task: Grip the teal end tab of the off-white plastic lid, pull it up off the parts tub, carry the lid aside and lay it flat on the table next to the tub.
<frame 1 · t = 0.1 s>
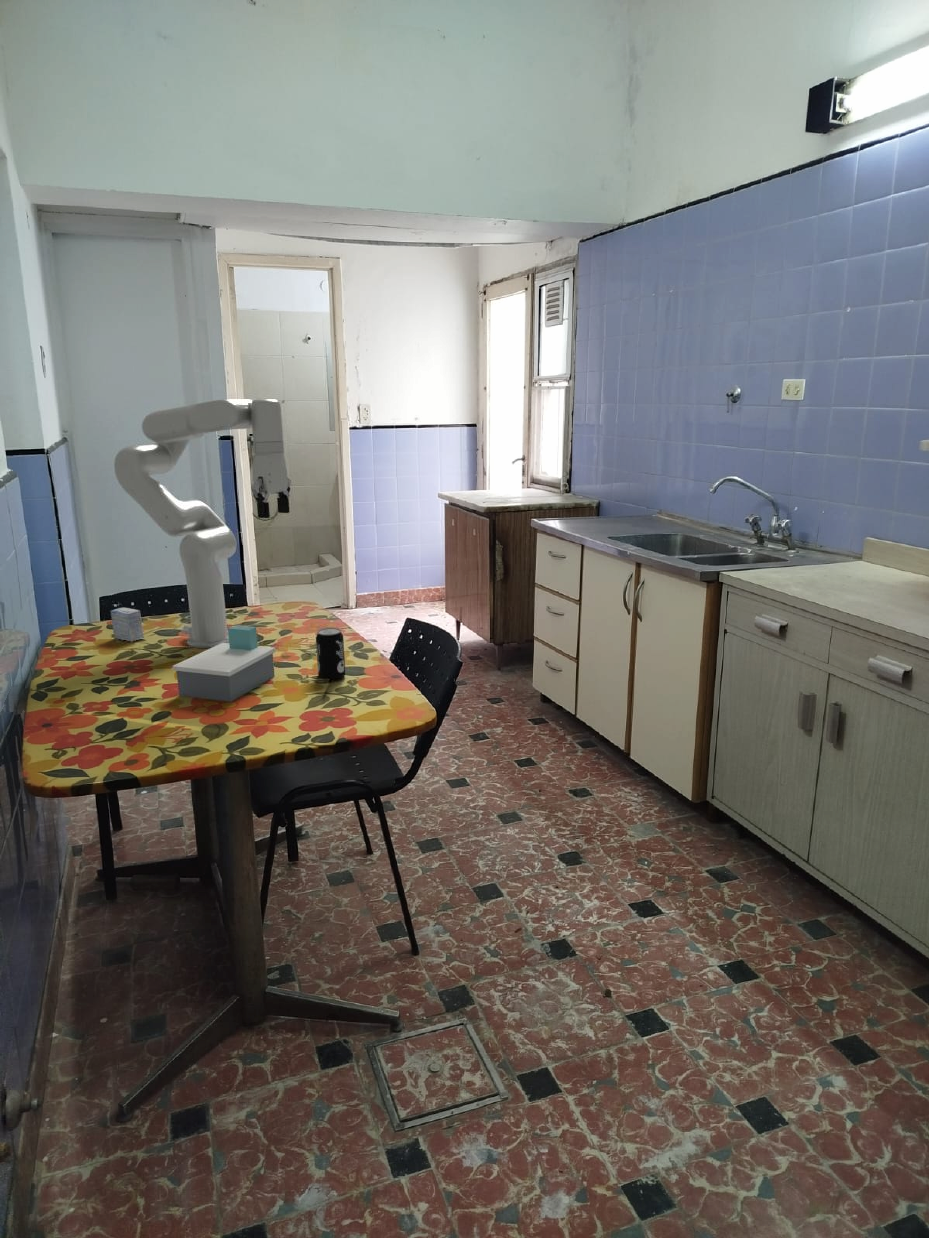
hand: (274, 515, 214), 37 cm above the table, tool pointing down, fingers open, 9 cm apart
lid: (226, 664, 192), point 6 cm above the table, touching tub
white upright block: (129, 639, 236), on the table
tub: (228, 688, 194), on the table
beverage can: (332, 678, 200), on the table
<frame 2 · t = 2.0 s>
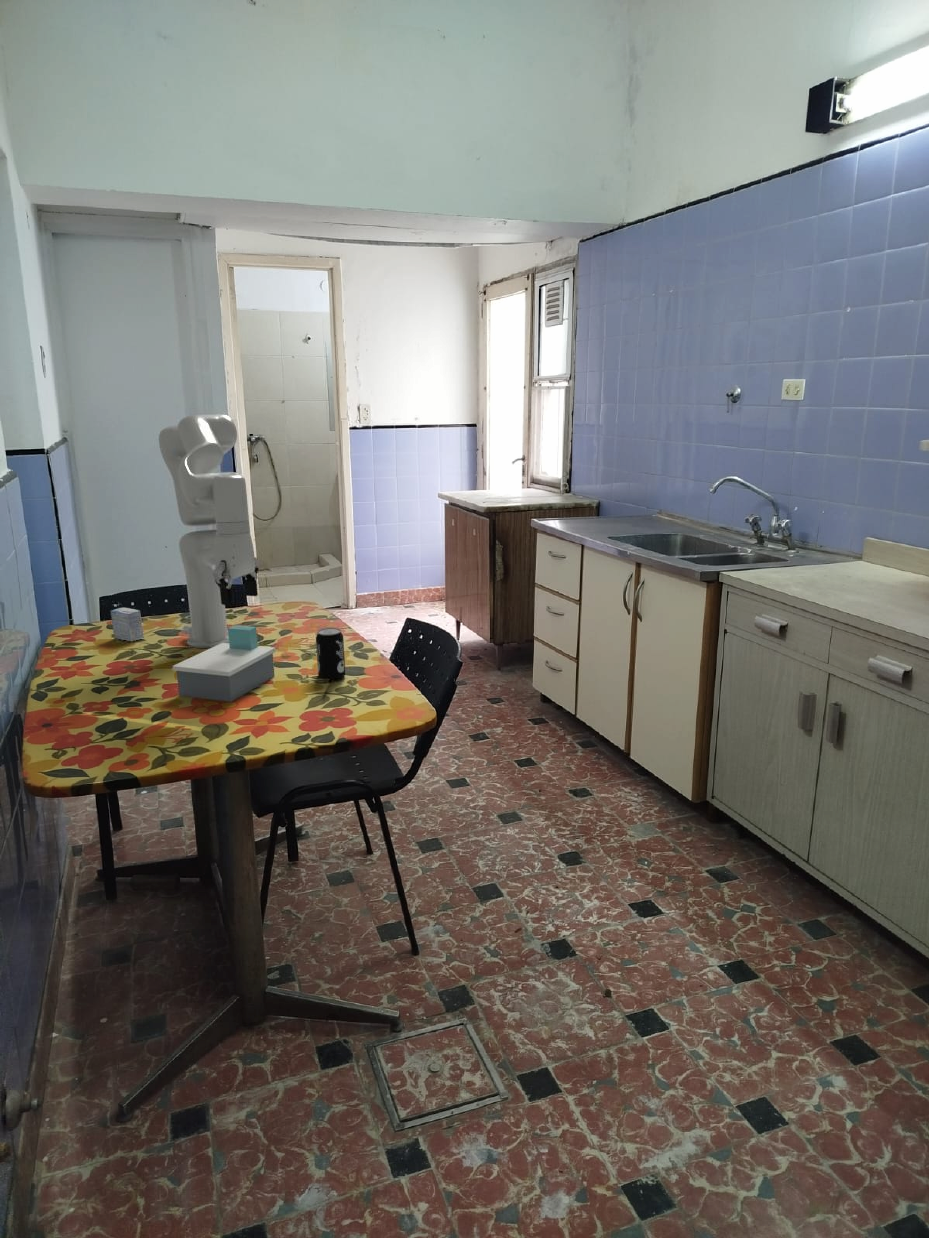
hand: (240, 600, 195), 20 cm above the table, tool pointing down, fingers open, 9 cm apart
nothing on the table moved.
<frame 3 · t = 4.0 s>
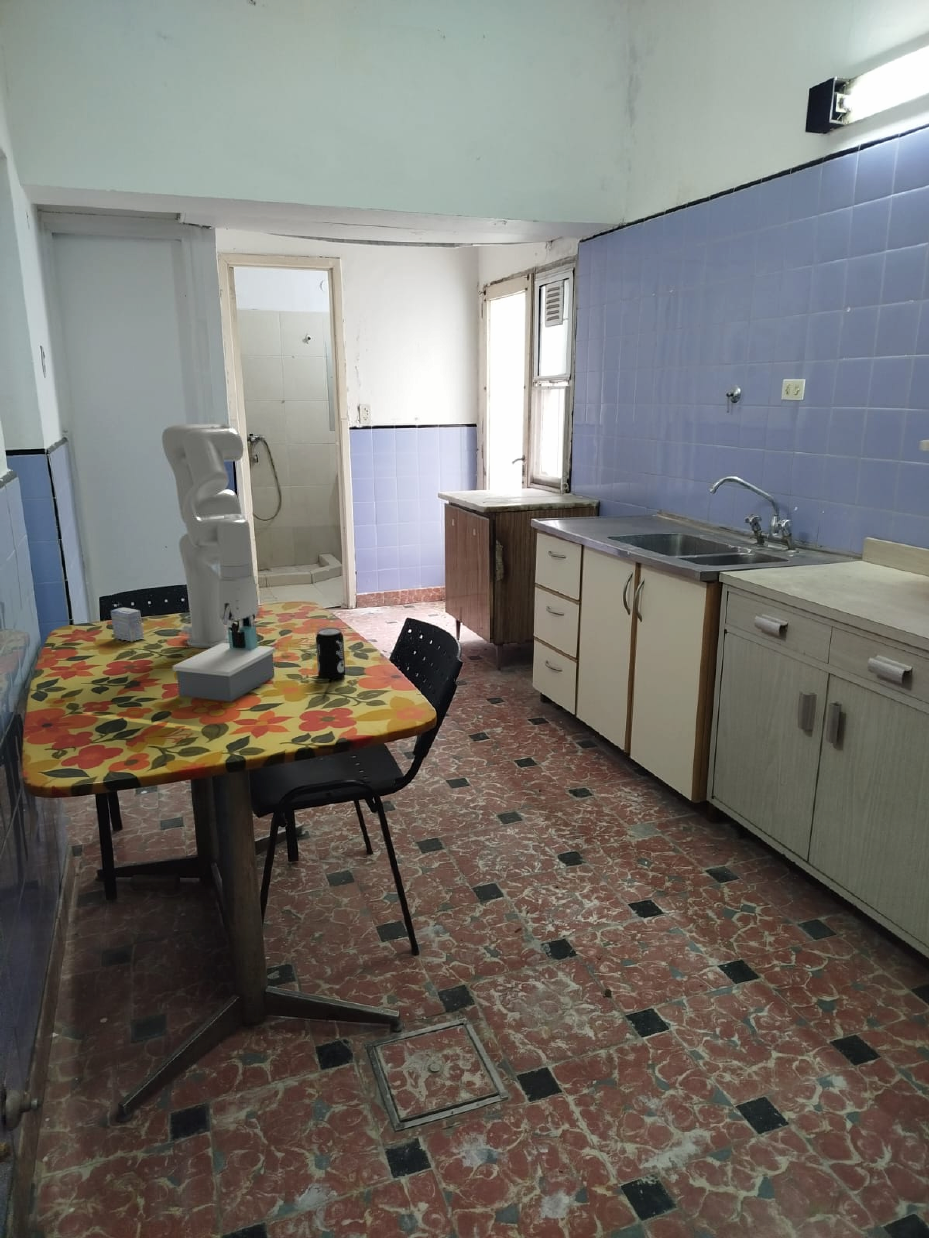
hand: (243, 644, 198), 9 cm above the table, tool pointing down, fingers closed on lid, 3 cm apart
lid: (226, 664, 192), point 6 cm above the table, touching gripper, tub
everything else where it was.
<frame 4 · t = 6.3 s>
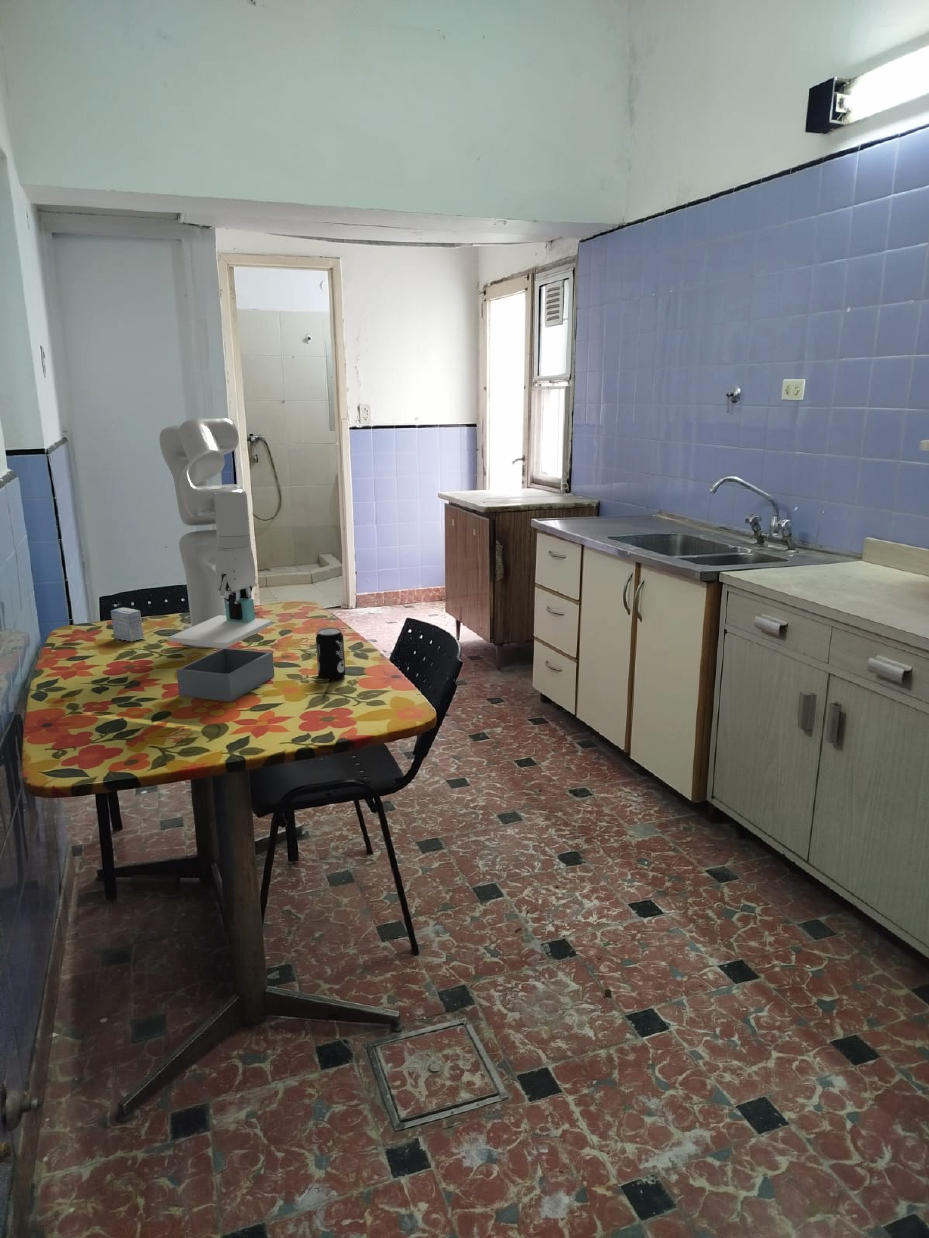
hand: (240, 616, 197), 16 cm above the table, tool pointing down, fingers closed on lid, 3 cm apart
lid: (223, 636, 191), point 13 cm above the table, touching gripper
everything else where it was.
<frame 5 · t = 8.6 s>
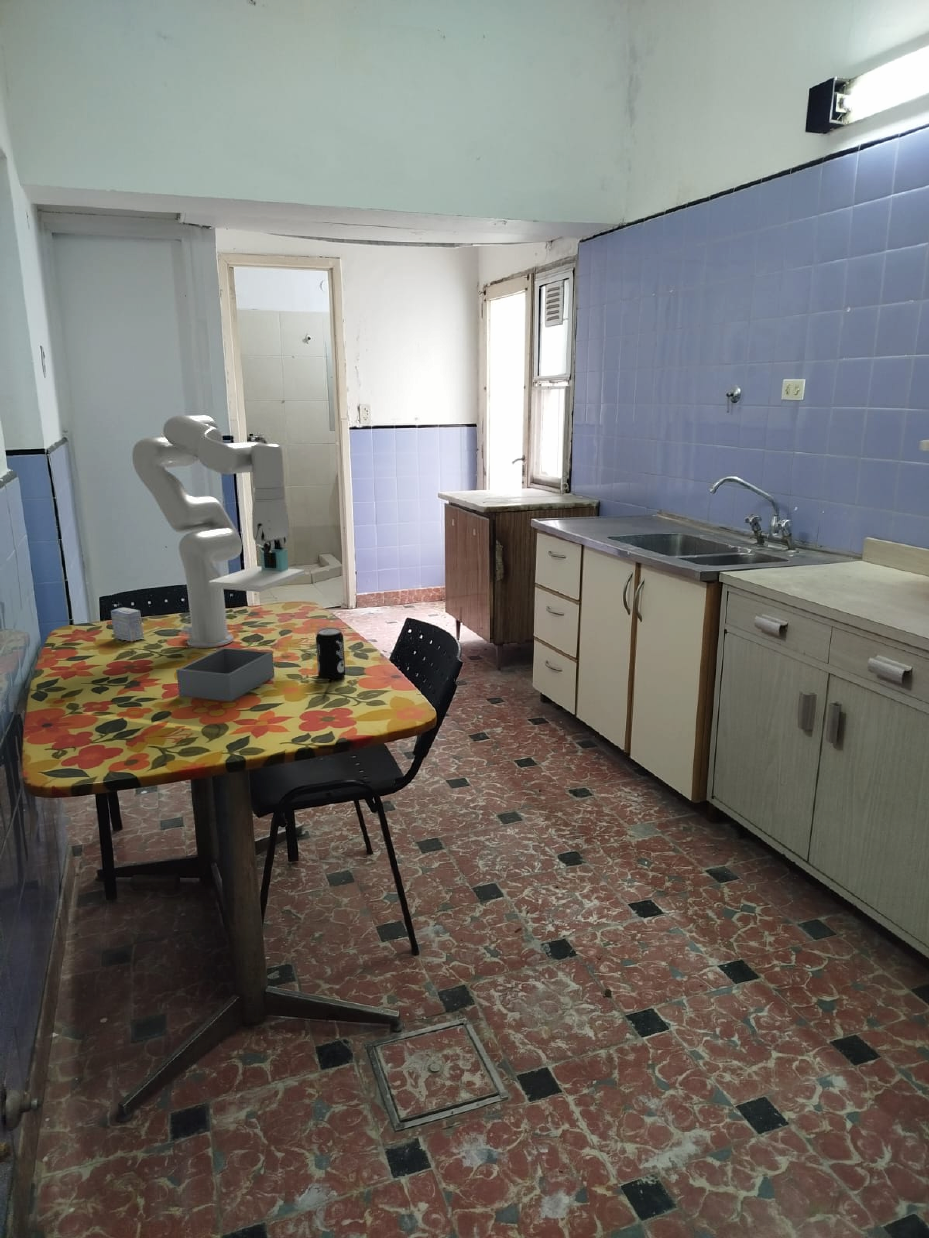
hand: (274, 565, 209), 25 cm above the table, tool pointing down, fingers closed on lid, 3 cm apart
lid: (258, 583, 203), point 22 cm above the table, touching gripper
everything else where it was.
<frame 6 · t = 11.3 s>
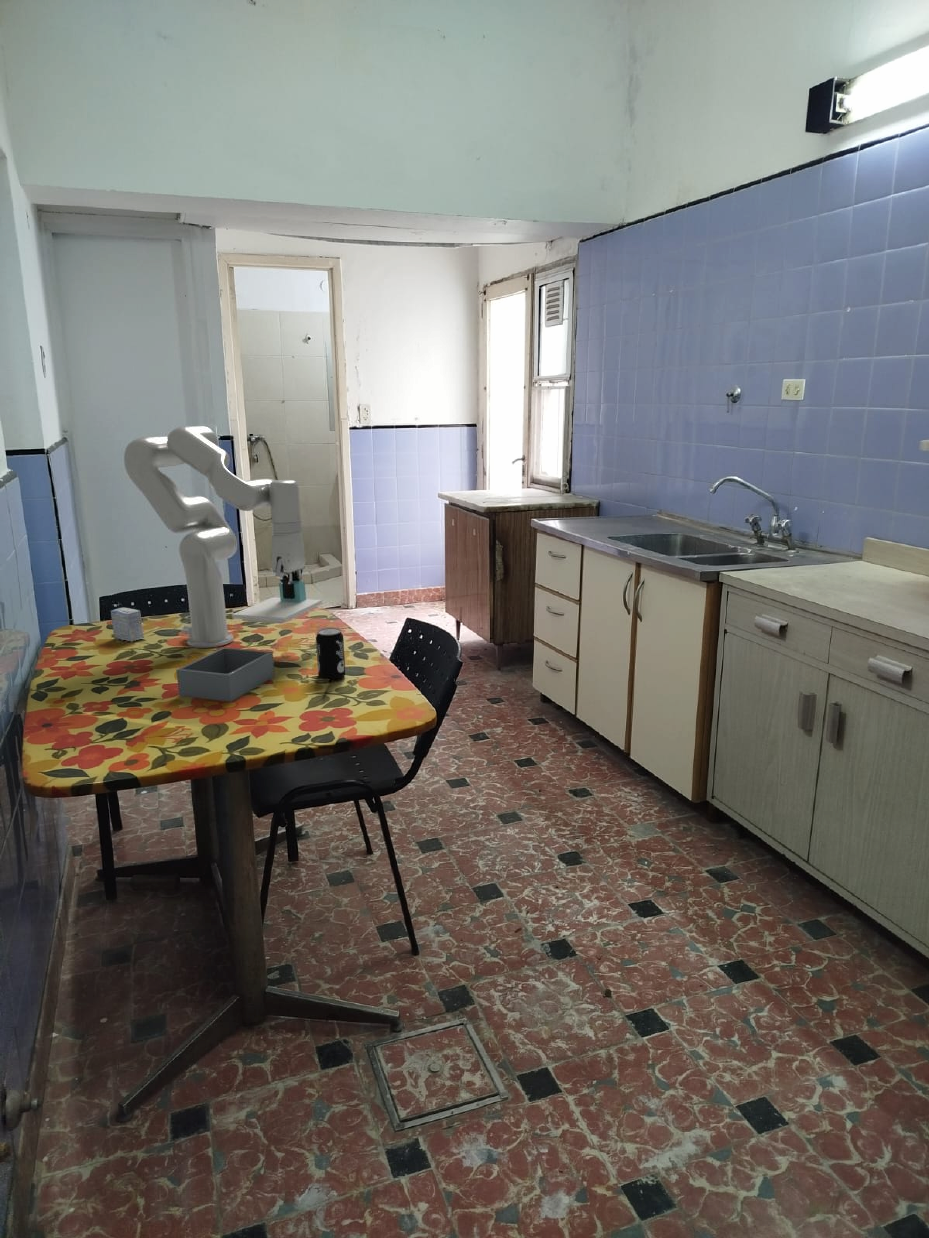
hand: (292, 596, 218), 15 cm above the table, tool pointing down, fingers closed on lid, 3 cm apart
lid: (279, 614, 212), point 12 cm above the table, touching gripper
everything else where it was.
when the fingers open (5 cm above the table, at t = 13.5 s): lid drops 2 cm, on the table.
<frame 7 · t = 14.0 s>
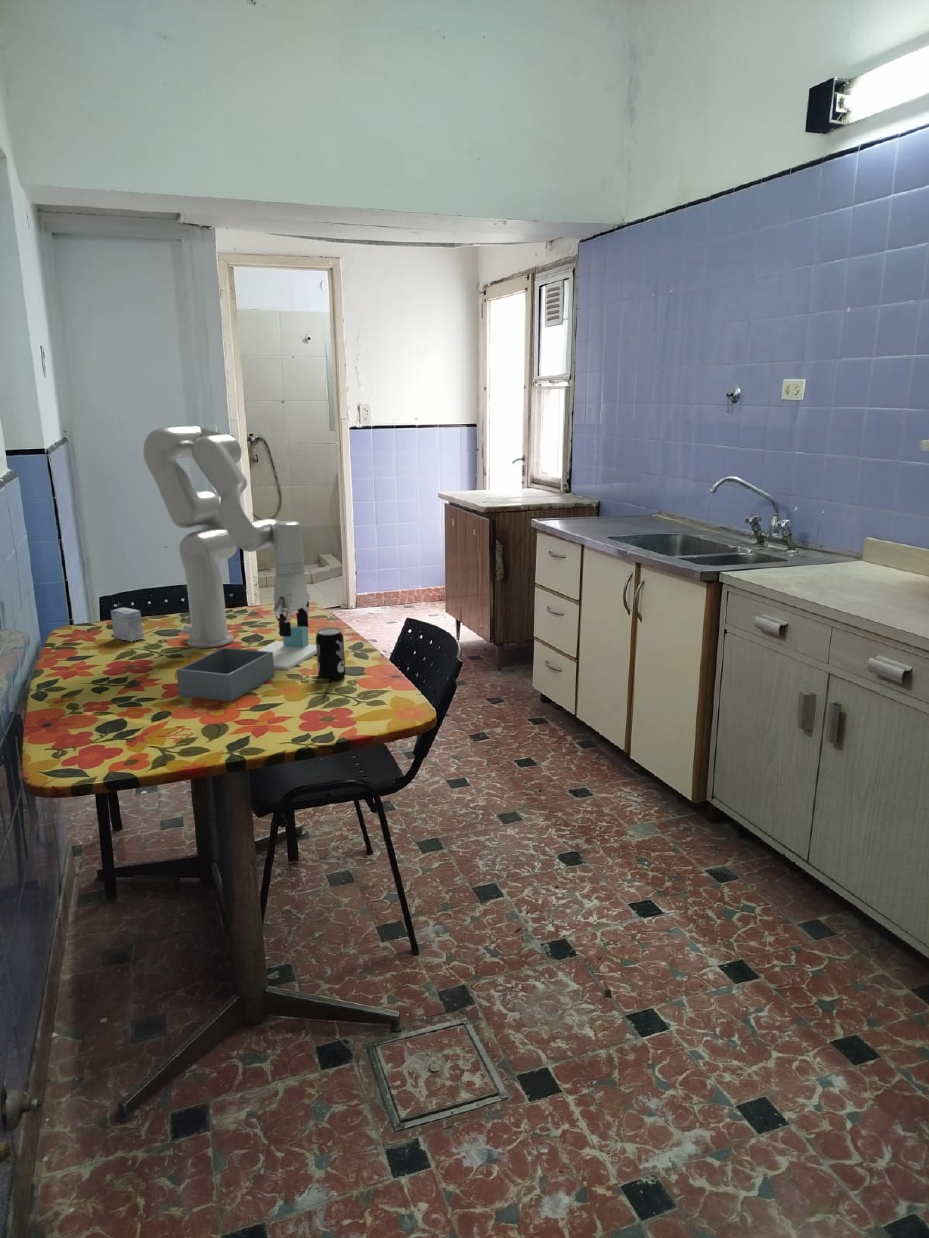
hand: (294, 631, 220), 6 cm above the table, tool pointing down, fingers open, 8 cm apart
lid: (282, 660, 215), on the table
everything else where it was.
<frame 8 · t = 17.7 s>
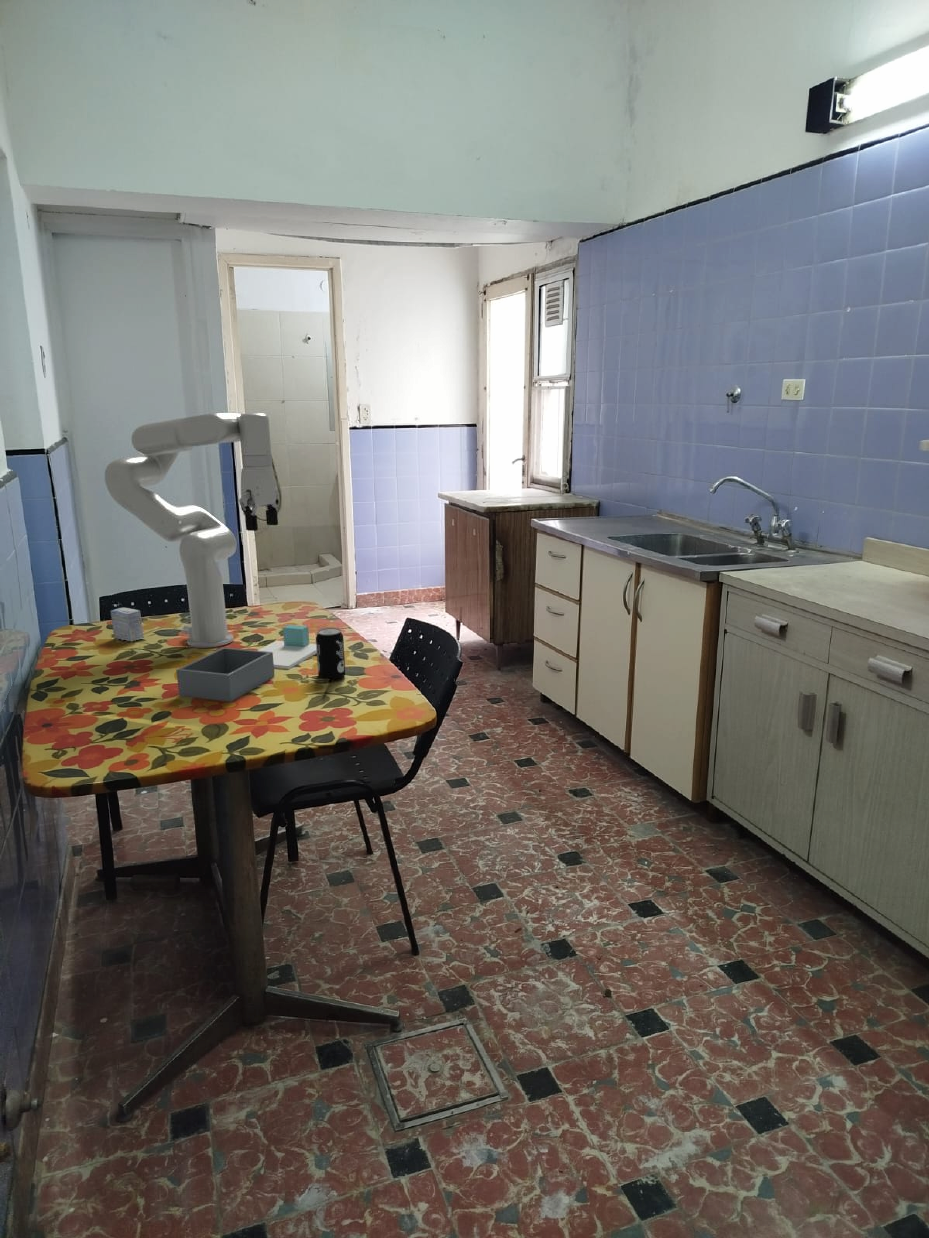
hand: (262, 527, 217), 33 cm above the table, tool pointing down, fingers open, 9 cm apart
nothing on the table moved.
at the end: lid touching table; lid inside the target area (0.8 cm from its centre), on the table; lid tilted 0° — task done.
